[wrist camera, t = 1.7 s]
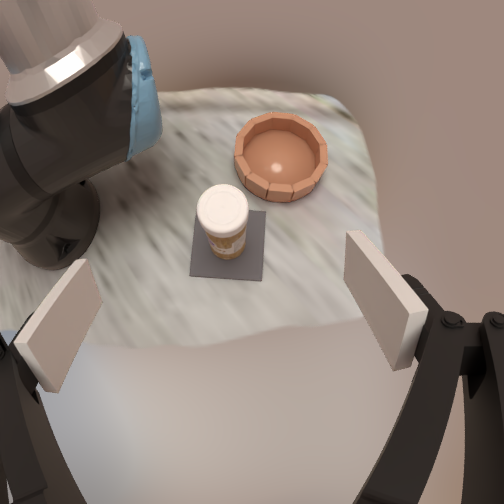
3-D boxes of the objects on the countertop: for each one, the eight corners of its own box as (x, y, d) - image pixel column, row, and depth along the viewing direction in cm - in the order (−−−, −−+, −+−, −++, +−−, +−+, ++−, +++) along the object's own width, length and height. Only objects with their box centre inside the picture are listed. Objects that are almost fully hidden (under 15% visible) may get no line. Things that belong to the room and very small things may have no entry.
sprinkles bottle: (202, 245, 40) (184, 210, 26) (225, 218, 40) (219, 172, 27) (230, 268, 39) (225, 243, 26) (253, 240, 40) (260, 203, 27)
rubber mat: (189, 275, 39) (189, 275, 39) (197, 207, 41) (196, 207, 41) (261, 281, 39) (261, 280, 39) (265, 212, 41) (265, 211, 41)
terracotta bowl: (232, 199, 41) (231, 187, 38) (239, 124, 44) (239, 109, 40) (321, 206, 42) (328, 195, 38) (319, 132, 44) (325, 118, 40)
